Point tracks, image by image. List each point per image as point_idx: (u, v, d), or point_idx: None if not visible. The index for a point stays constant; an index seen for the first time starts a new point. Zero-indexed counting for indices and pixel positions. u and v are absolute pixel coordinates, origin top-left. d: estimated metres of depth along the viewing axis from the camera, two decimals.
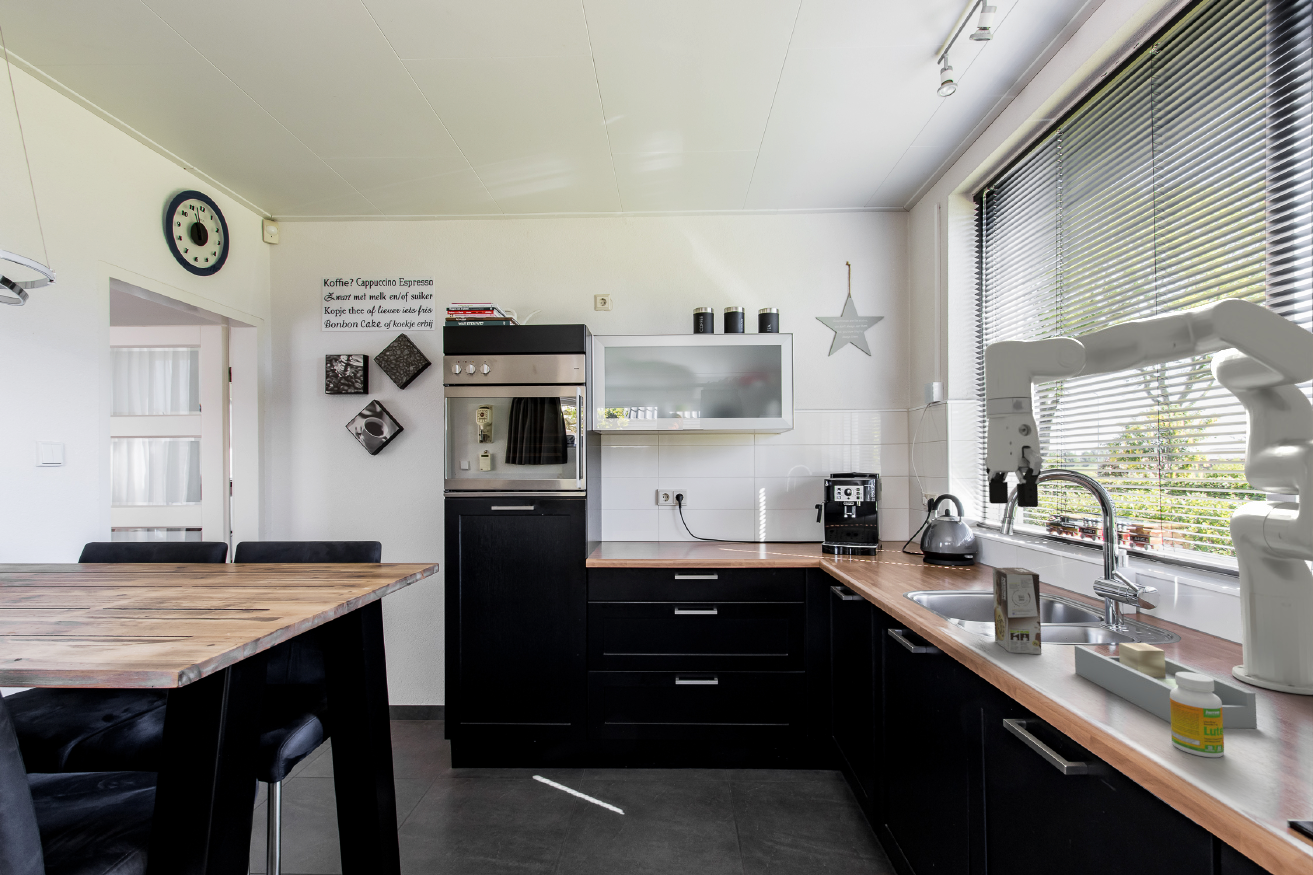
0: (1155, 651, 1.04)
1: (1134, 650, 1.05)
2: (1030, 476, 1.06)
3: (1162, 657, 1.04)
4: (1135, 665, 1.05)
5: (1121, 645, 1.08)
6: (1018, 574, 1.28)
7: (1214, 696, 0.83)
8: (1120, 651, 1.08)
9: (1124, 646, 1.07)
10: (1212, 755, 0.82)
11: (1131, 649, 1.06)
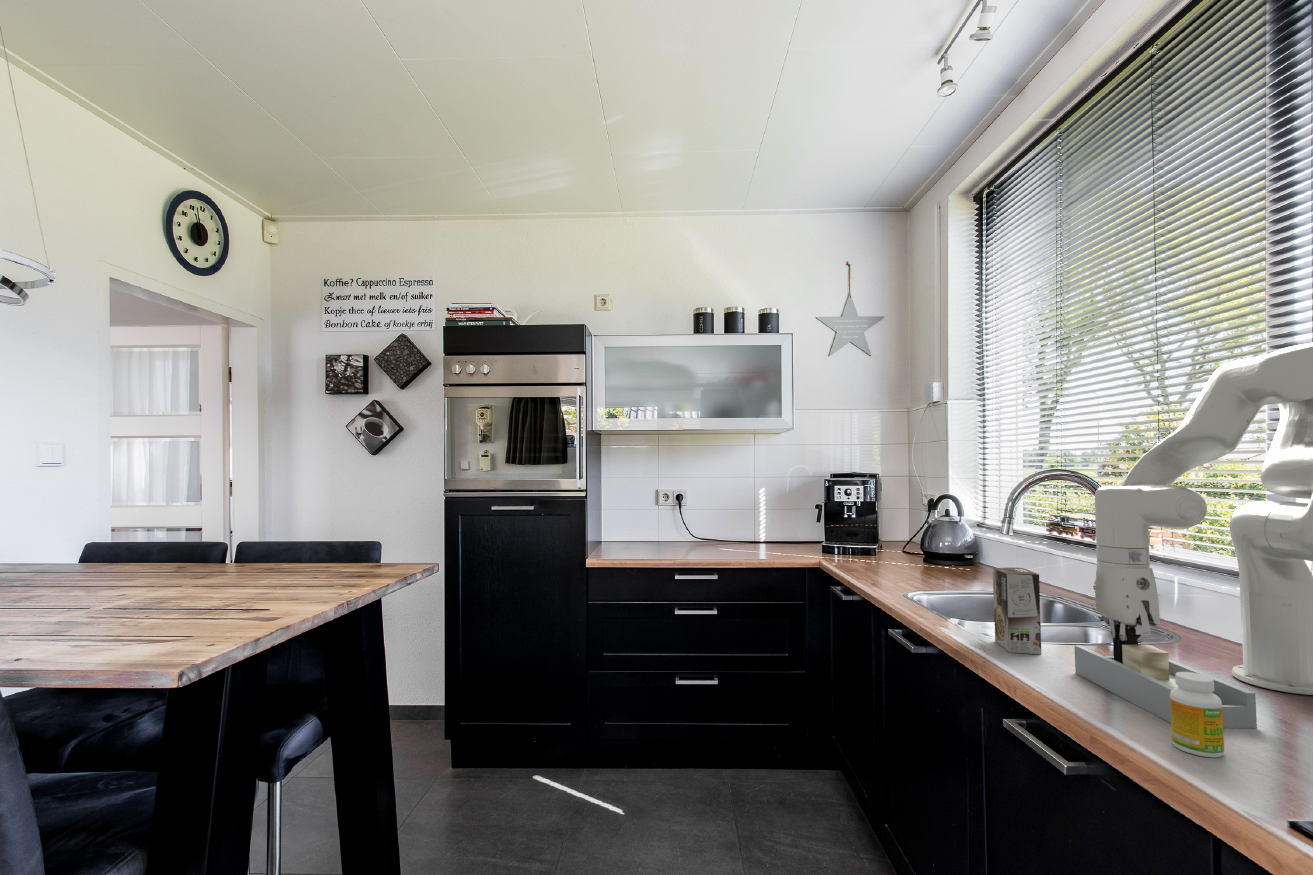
0: (1158, 653, 1.03)
1: (1137, 652, 1.04)
2: (1132, 635, 1.07)
3: (1166, 659, 1.03)
4: (1138, 667, 1.04)
5: (1124, 647, 1.07)
6: (1018, 574, 1.28)
7: (1214, 696, 0.83)
8: (1123, 652, 1.07)
9: (1127, 648, 1.06)
10: (1212, 755, 0.82)
11: (1134, 651, 1.05)
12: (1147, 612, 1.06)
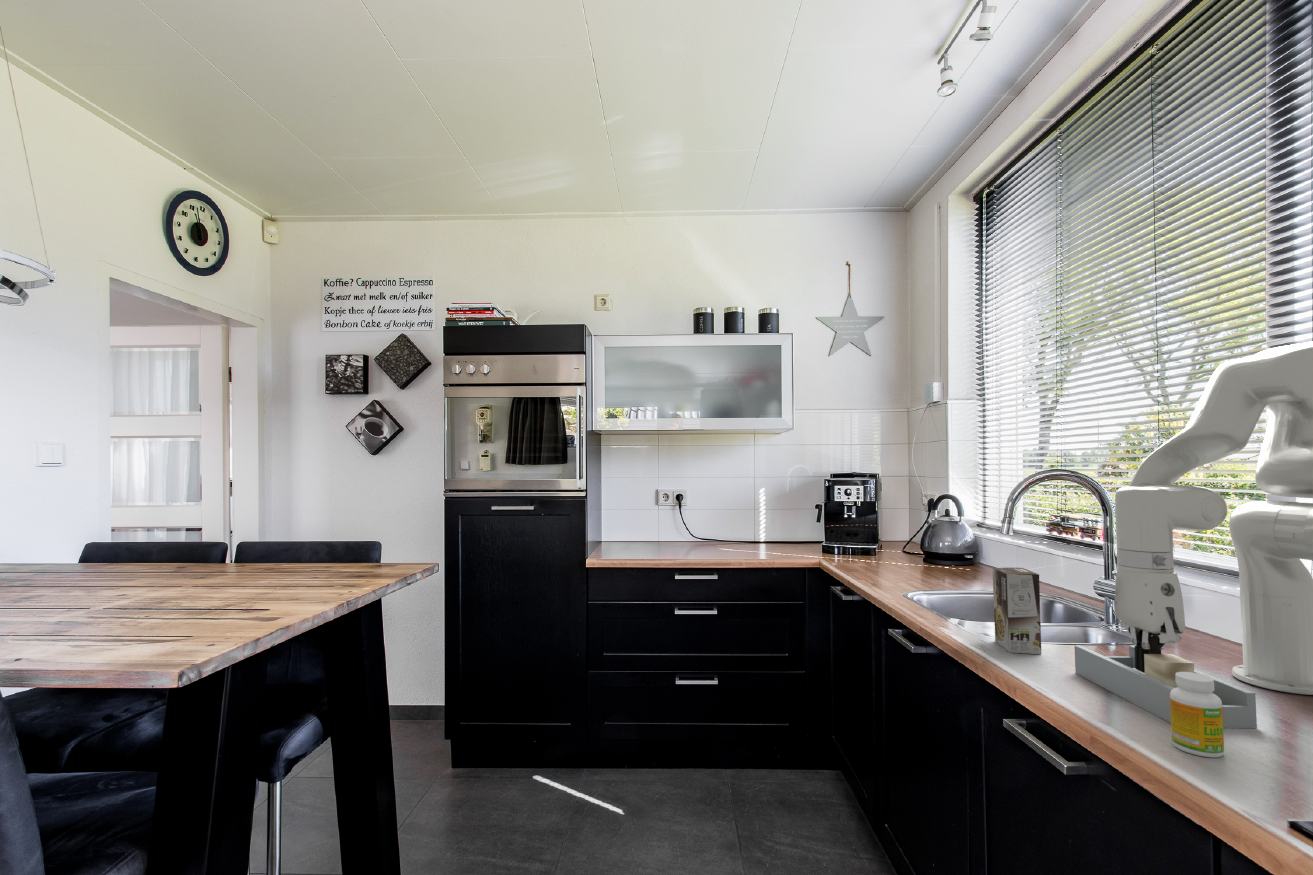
0: (1183, 664, 0.98)
1: (1161, 662, 0.99)
2: (1156, 643, 1.02)
3: (1191, 670, 0.98)
4: (1162, 678, 0.99)
5: (1147, 656, 1.02)
6: (1018, 574, 1.28)
7: (1214, 696, 0.83)
8: (1146, 662, 1.02)
9: (1150, 657, 1.01)
10: (1212, 755, 0.82)
11: (1158, 661, 0.99)
12: (1172, 619, 1.00)
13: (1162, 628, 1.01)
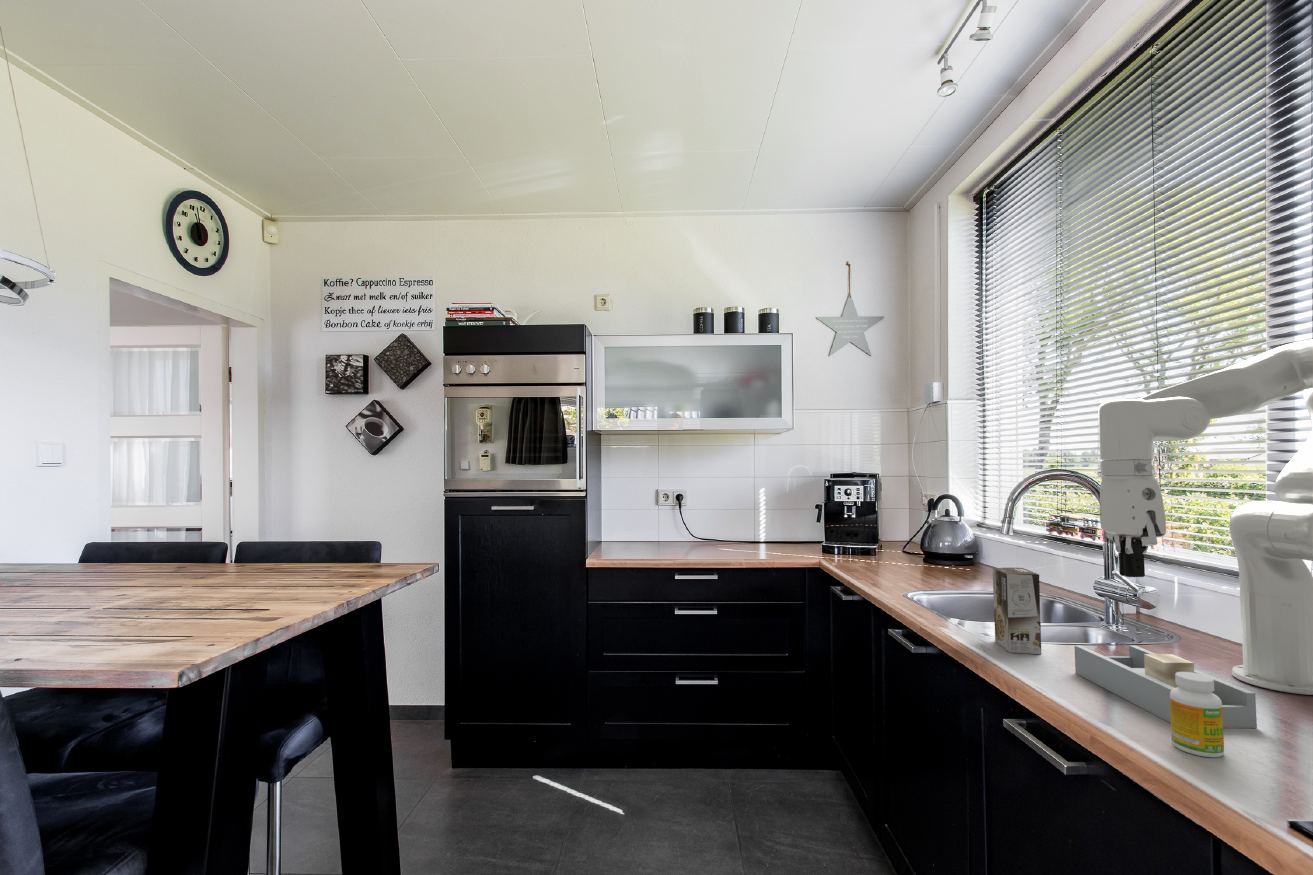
0: (1183, 663, 0.98)
1: (1161, 662, 0.99)
2: (1139, 547, 1.06)
3: (1191, 670, 0.98)
4: (1162, 678, 0.99)
5: (1147, 656, 1.02)
6: (1018, 574, 1.28)
7: (1214, 696, 0.83)
8: (1146, 662, 1.02)
9: (1150, 657, 1.01)
10: (1212, 755, 0.82)
11: (1158, 661, 0.99)
12: (1153, 523, 1.05)
13: (1144, 531, 1.05)
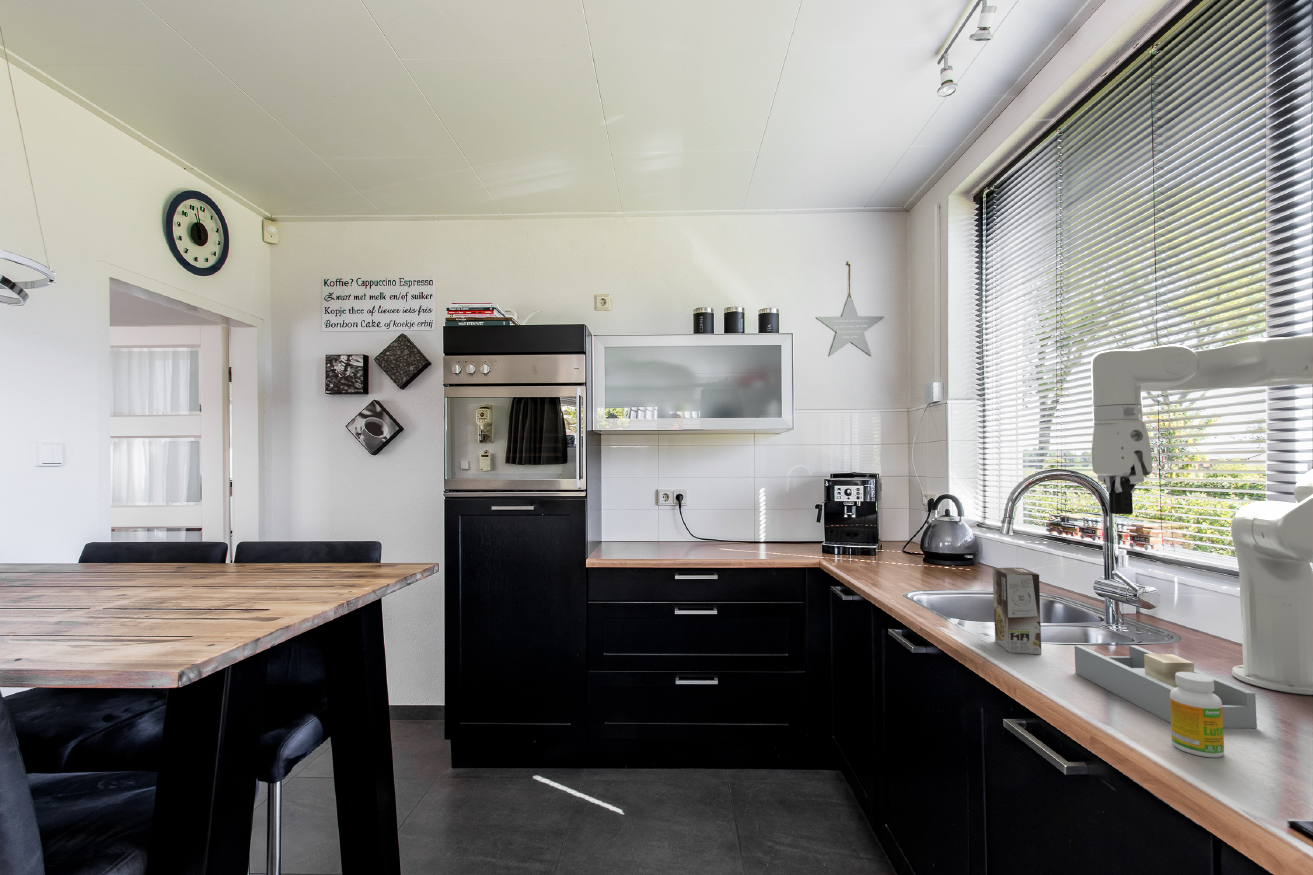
0: (1183, 663, 0.98)
1: (1161, 662, 0.99)
2: (1127, 486, 1.15)
3: (1191, 670, 0.98)
4: (1162, 678, 0.99)
5: (1147, 656, 1.02)
6: (1018, 574, 1.28)
7: (1214, 696, 0.83)
8: (1146, 662, 1.02)
9: (1150, 657, 1.01)
10: (1212, 755, 0.82)
11: (1158, 661, 0.99)
12: (1140, 462, 1.13)
13: (1132, 470, 1.14)
